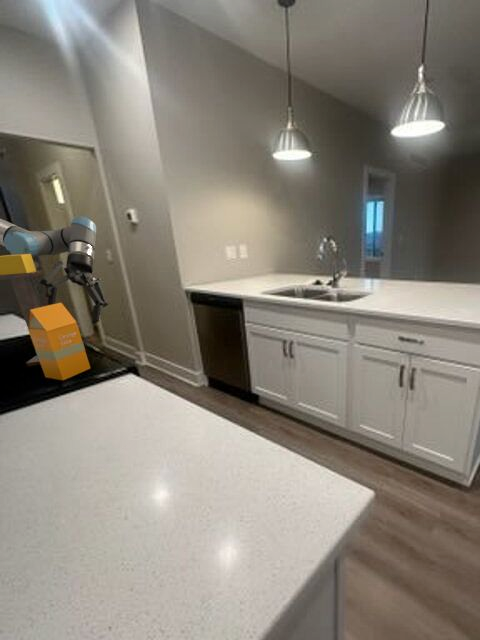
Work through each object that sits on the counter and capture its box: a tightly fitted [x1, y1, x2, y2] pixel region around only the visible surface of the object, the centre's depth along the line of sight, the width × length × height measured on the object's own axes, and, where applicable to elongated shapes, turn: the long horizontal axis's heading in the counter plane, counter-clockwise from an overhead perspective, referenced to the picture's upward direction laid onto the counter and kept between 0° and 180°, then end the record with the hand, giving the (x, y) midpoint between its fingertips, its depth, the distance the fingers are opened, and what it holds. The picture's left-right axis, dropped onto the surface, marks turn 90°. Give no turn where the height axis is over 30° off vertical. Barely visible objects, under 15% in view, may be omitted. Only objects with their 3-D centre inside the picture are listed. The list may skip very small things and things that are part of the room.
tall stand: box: [0, 269, 44, 367], centre depth 106 cm, size 10×6×28 cm, turn 104°
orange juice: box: [27, 302, 91, 381], centre depth 97 cm, size 8×9×20 cm
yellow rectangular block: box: [0, 254, 40, 275], centre depth 104 cm, size 7×14×5 cm, turn 14°
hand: (74, 315), depth 109 cm, fingers open, 13 cm apart
